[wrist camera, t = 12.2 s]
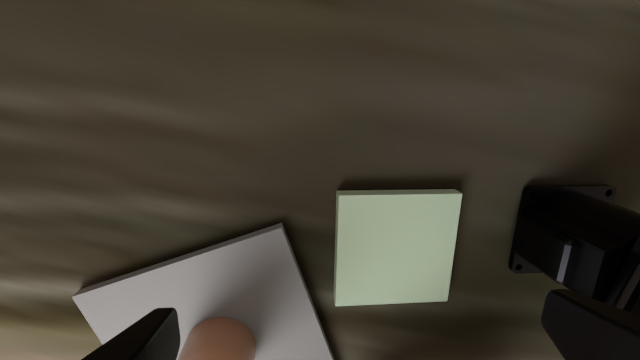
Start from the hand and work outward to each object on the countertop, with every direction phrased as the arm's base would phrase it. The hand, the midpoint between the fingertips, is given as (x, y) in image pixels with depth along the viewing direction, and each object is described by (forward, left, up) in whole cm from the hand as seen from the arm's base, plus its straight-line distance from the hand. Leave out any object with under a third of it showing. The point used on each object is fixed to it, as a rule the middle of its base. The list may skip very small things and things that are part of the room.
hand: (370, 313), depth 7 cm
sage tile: (-5, +5, -13) cm, 15 cm away
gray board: (+7, +12, -13) cm, 19 cm away
